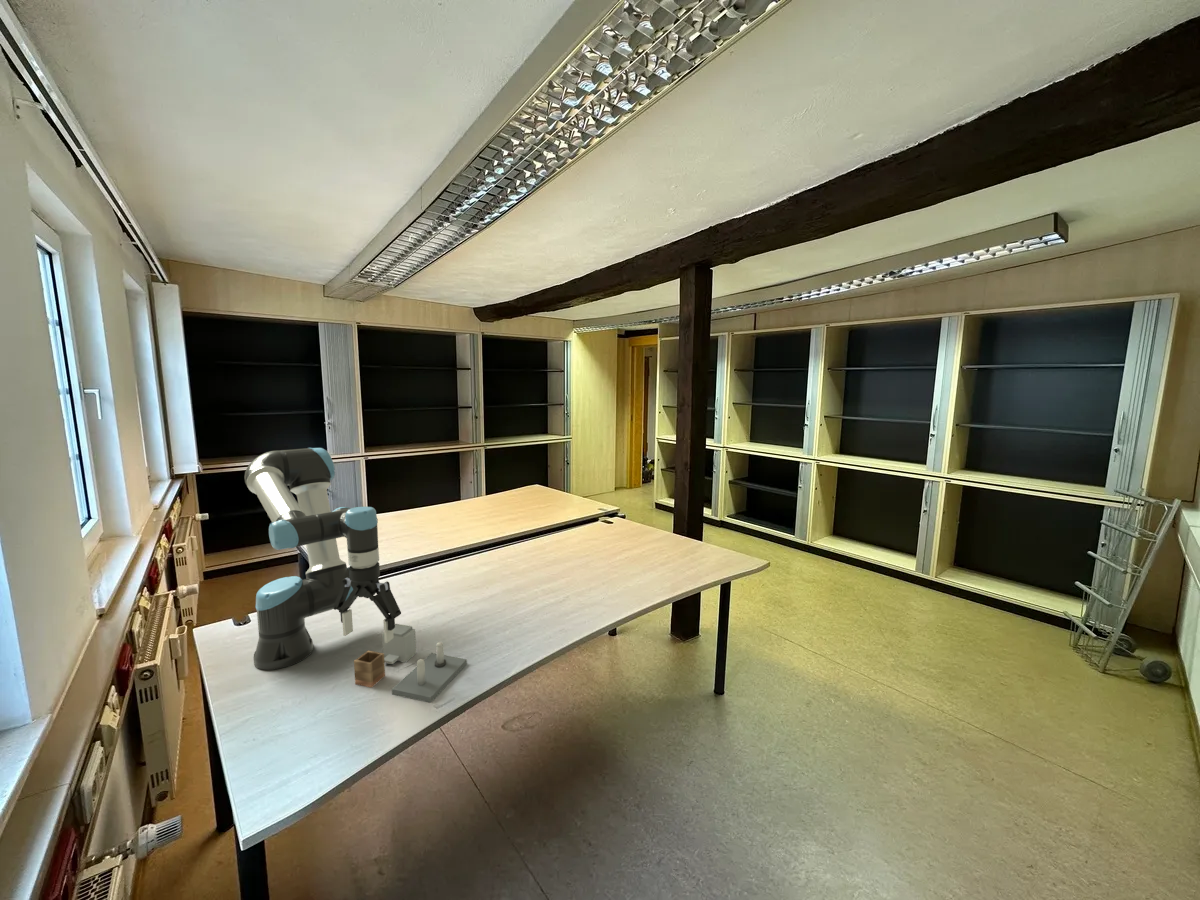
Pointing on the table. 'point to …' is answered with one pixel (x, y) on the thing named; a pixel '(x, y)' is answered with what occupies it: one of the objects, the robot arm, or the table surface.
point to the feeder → (400, 644)
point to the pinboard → (430, 676)
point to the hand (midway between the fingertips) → (368, 636)
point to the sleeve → (369, 668)
